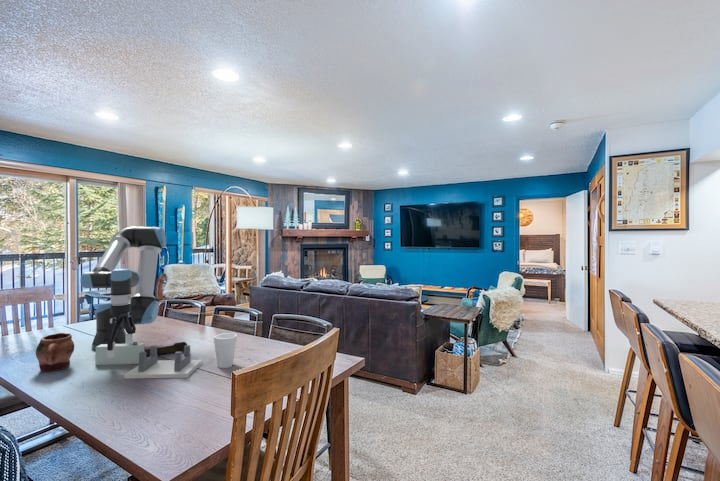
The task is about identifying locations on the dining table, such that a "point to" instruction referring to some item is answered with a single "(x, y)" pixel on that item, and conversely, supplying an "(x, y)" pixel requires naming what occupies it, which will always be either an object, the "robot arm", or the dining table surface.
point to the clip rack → (164, 365)
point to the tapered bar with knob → (120, 354)
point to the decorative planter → (55, 352)
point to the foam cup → (225, 349)
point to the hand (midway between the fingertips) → (120, 352)
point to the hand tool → (168, 349)
